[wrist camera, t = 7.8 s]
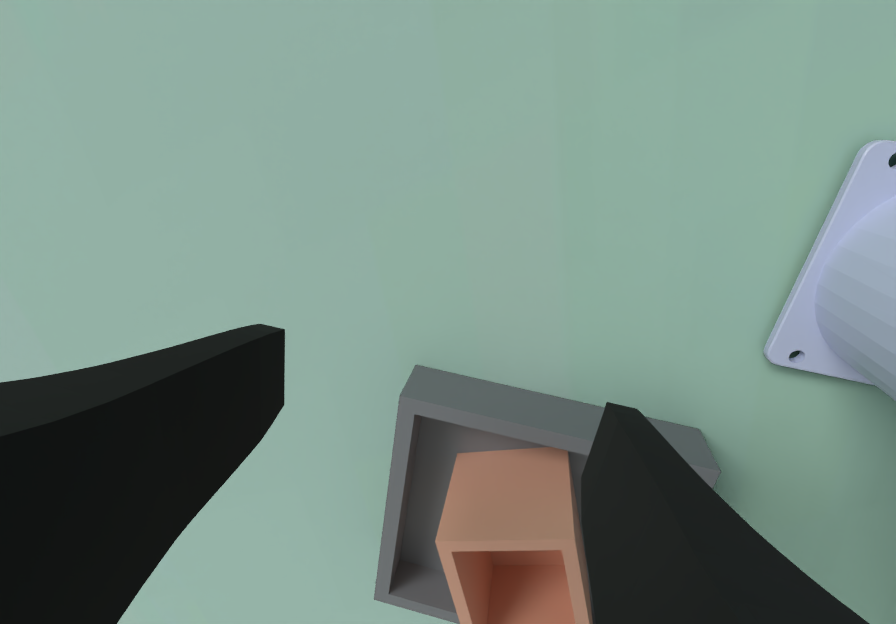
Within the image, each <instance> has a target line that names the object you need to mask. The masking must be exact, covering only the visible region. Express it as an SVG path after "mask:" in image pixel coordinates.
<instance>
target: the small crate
mask: <svg viewBox="0 0 896 624" xmlns="http://www.w3.org/2000/svg"><path fill="white" fill-rule="evenodd" d="M435 543H436V546H437V549H438V553H439V556H440V559H441V563H442V566H443V569H444V572H445V576H446V579H447V582H448V586H449V589H450V592H451V595H452V599H453V602H454V605H455V608H456V612H457V615H458V618H459V622H460V624H593V621H592V612H591V602H590V592H589V583H588V573H587V564H586V557H585V551H584V545H583V539H582V533H581V527H580V521H579V515H578V509H577V503H576V497H575V491H574V485H573V479H572V473H571V467H570V461H569V455H568V451H567V450H562V449H558V448H554V447H543V448H528V449H513V450H498V451H484V452H469V453H457V457H456V461H455V465H454V468H453V472H452V476H451V480H450V484H449V488H448V492H447V496H446V500H445V504H444V508H443V512H442V516H441V520H440V524H439V528H438V532H437V536H436V540H435Z"/></svg>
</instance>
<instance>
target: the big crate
mask: <svg viewBox="0 0 896 624" xmlns="http://www.w3.org/2000/svg"><path fill="white" fill-rule="evenodd" d="M604 409H605V408H603V407H599V406H595V405H590V404H586V403H581V402H577V401H573V400H568V399H564V398H559V397H555V396H551V395H546V394H542V393H537V392H533V391H529V390H524V389H520V388H515V387H511V386H507V385H502V384H498V383H493V382H489V381H484V380H480V379H476V378H471V377H467V376H462V375H458V374H454V373H449V372H445V371H440V370H436V369H432V368H427V367H423V366H418V365H415V367H414V369H413V371H412V373H411V375H410V377H409V379H408V381H407V383H406V385H405V386H404V388H403V390H402V392H401V394H400V397H399V405H398V413H397V421H396V429H395V437H394V445H393V452H392V460H391V468H390V476H389V484H388V492H387V500H386V508H385V516H384V523H383V531H382V539H381V547H380V555H379V563H378V571H377V579H376V587H375V594H374V600H377V601H381V602H384V603H388V604H391V605H395V606H398V607H402V608H405V609H409V610H412V611H416V612H419V613H423V614H426V615H430V616H433V617H437V618H440V619H443V620H447V621H450V622H454V623H457V624H460V622H459V618H458V615H457V612H456V608H455V605H454V602H453V599H452V595H451V592H450V589H449V586H448V582H447V579H446V576H445V572H444V569H443V566H442V563H441V559H440V556H439V553H438V549H437V546H436V543H435V540H436V536H437V532H438V528H439V524H440V520H441V516H442V512H443V508H444V504H445V500H446V496H447V492H448V488H449V484H450V480H451V476H452V472H453V468H454V465H455V461H456V457H457V453H469V452H484V451H498V450H513V449H528V448H543V447H554V448H558V449H562V450H567V451H568V455H569V461H570V467H571V473H572V479H573V485H574V491H575V497H576V503H577V509H578V515H579V521H580V527H581V533H582V539H583V545H584V537H583V530H582V522H581V476H582V473H583V470H584V467H585V464H586V461H587V459H588V456H589V453H590V450H591V447H592V444H593V441H594V438H595V435H596V432H597V429H598V427H599V424H600V421H601V418H602V415H603V412H604ZM646 418H647V417H646ZM647 419H648V421H649V422H650V423H651V424H652V425H653V426H654V427H655V428H656V429H657V430H658V431H659V432H660V434H661V435H662V436H663V437H664V438H665V439H666V440H667V441H668V442H669V443H670V445H671V446H672V447H673V448H674V449H675V450H676V451H677V452H678V453H679V454H680V456H681V457H682V458H683V459H684V460H685V461H686V462H687V463H688V464H689V465H690V466H691V467H692V468H693V470H694V471H695V472H696V473H697V474H698V475H699V476H700V477H701V478H702V479H703V480H704V481H705V482H706V483H707V484H708V485H709V486H710V487H711V488H712V489H713V487H714V485H715V483H716V481H717V479H718V477H719V475H720V473H721V470H720V469H719V467H718V465H717V463H716V461H715V459H714V457H713V455H712V453H711V451H710V449H709V447H708V445H707V443H706V441H705V440H704V438H703V436H702V434H701V432H700V430H699V429H696V428H691V427H687V426H683V425H678V424H674V423H669V422H665V421H661V420H656V419H652V418H647ZM584 551H585V545H584ZM585 557H586V552H585ZM586 564H587V559H586ZM587 573H588V566H587ZM588 583H589V592H590V602H591V612H592V621H593V624H596V622H595V615H594V608H593V601H592V594H591V587H590V580H589V573H588Z"/></svg>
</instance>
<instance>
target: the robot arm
mask: <svg viewBox="0 0 896 624" xmlns="http://www.w3.org/2000/svg"><path fill="white" fill-rule="evenodd" d="M894 153H896V141H890V140H874V141H872V142H869V143H867V144H866V145H864V146H863V147H862V148H861V149H860V150H859V152H858V153H857V155H856V157H855V159H854V161H853V163H852V165H851V167H850V170H849V172H848V174H847V176H846V178H845V180H844V182H843V184H842V186H841V188H840V190H839V192H838V195H837V197H836V199H835V201H834V203H833V205H832V207H831V209H830V211H829V213H828V215H827V217H826V220H825V222H824V224H823V226H822V228H821V230H820V232H819V234H818V236H817V238H816V240H815V242H814V245H813V247H812V249H811V251H810V253H809V255H808V257H807V259H806V261H805V263H804V265H803V267H802V270H801V272H800V274H799V276H798V278H797V280H796V282H795V284H794V286H793V288H792V290H791V292H790V295H789V297H788V299H787V301H786V303H785V305H784V307H783V309H782V311H781V313H780V315H779V318H778V320H777V322H776V324H775V326H774V328H773V330H772V332H771V334H770V336H769V338H768V340H767V343H766V345H765V347H764V351H763V352H764V355H765V357H766V358H767V359H768V360H769V361H770V362H771V363H773V364H776V365H780V366H784V367H789V368H794V369H799V370H804V371H808V372H813V373H818V374H823V375H828V376H832V377H837V378H842V379H847V380H852V381H856V382H861V383H866V384H871V385H876V386H877V387H878V388H879V389H881V390H882V391H883V392H884V393H886V394H887V395H888V396H890V397H891V398H892V399H893V400H895V401H896V165H894V166H892V167H890V166H889V164H888V162H889V158H890V157H891V156H892V155H893V154H894ZM796 350H800V352H799V354H798V355H797V356H796V357H794V358H789V355H790V354H791V353H792V352H794V351H796ZM284 363H285V329H281V328H276V327H272V326H267V325H263V324H256V325H250V326H245V327H241V328H237V329H233V330H229V331H226V332H222V333H218V334H215V335H211V336H208V337H204V338H201V339H197V340H194V341H190V342H187V343H183V344H180V345H176V346H173V347H169V348H166V349H162V350H158V351H154V352H150V353H146V354H143V355H139V356H135V357H131V358H127V359H123V360H119V361H115V362H111V363H107V364H103V365H98V366H94V367H89V368H84V369H79V370H74V371H69V372H64V373H58V374H53V375H47V376H42V377H36V378H30V379H24V380H16V381H9V382H1V383H0V624H117V622H118V621H119V620H120V618H121V617H122V615H123V614H124V612H125V611H126V609H127V608H128V606H129V605H130V603H131V602H132V600H133V599H134V598H135V596H136V595H137V593H138V592H139V590H140V589H141V587H142V586H143V584H144V583H145V582H146V580H147V579H148V578H149V576H150V575H151V573H152V572H153V571H154V569H155V568H156V566H157V565H158V564H159V562H160V561H161V559H162V558H163V557H164V555H165V554H166V552H167V551H168V550H169V548H170V547H171V546H172V544H173V543H174V541H175V540H176V539H177V538H178V536H179V535H180V534H181V533H182V531H183V530H184V529H185V528H186V527H187V525H188V524H189V523H190V522H191V520H192V519H193V518H194V517H195V516H196V515H197V514H198V512H199V511H200V510H201V509H202V508H203V507H204V506H205V504H206V503H207V502H208V501H209V500H210V499H211V498H212V496H213V495H214V494H215V493H216V492H217V491H218V490H219V488H220V487H221V486H222V485H223V484H224V483H225V482H226V480H227V479H228V478H229V477H230V476H231V475H232V474H233V472H234V471H235V470H236V469H237V468H238V467H239V466H240V464H241V463H242V462H243V461H244V460H245V459H246V457H247V456H248V455H249V454H250V453H251V452H252V450H253V449H254V448H255V447H256V446H257V444H258V443H259V442H260V441H261V440H262V438H263V437H264V435H265V434H266V432H267V431H268V429H269V428H270V426H271V425H272V423H273V422H274V420H275V419H276V417H277V415H278V414H279V412H280V411H281V409H282V407H283V406H284ZM581 522H582V530H583V537H584V545H585V552H586V559H587V566H588V573H589V580H590V587H591V594H592V601H593V608H594V615H595V622H596V624H869V623H868V622H867V621H865V620H864V619H863V618H861V617H860V616H859V615H857V614H856V613H855V612H853V611H852V610H851V609H849V608H848V607H847V606H845V605H844V604H843V603H841V602H840V601H839V600H837V599H836V598H835V597H834V596H832V595H831V594H830V593H829V592H827V591H826V590H825V589H824V588H822V587H821V586H820V585H819V584H817V583H816V582H815V581H813V580H812V579H811V578H810V577H809V576H807V575H806V574H805V573H804V572H803V571H801V570H800V569H799V568H798V567H797V566H796V565H794V564H793V563H792V562H791V561H790V560H789V559H787V558H786V557H785V556H784V555H783V554H781V553H780V552H779V551H778V550H777V549H776V548H774V547H773V546H772V545H771V544H770V543H769V542H767V541H766V540H765V539H764V538H763V537H762V536H761V535H760V534H759V533H757V532H756V531H755V530H754V529H753V528H752V527H751V526H750V525H749V524H748V523H747V522H746V521H745V520H743V519H742V518H741V517H740V516H739V515H738V514H737V513H736V512H735V511H734V510H733V509H732V508H731V507H730V506H729V505H728V504H727V503H726V502H725V501H724V500H723V499H722V498H721V497H720V496H719V495H718V494H717V493H716V492H715V491H714V490H713V489H712V488H711V487H710V486H709V485H708V484H707V483H706V482H705V481H704V480H703V479H702V478H701V477H700V476H699V475H698V474H697V473H696V472H695V471H694V470H693V468H692V467H691V466H690V465H689V464H688V463H687V462H686V461H685V460H684V459H683V458H682V457H681V456H680V454H679V453H678V452H677V451H676V450H675V449H674V448H673V447H672V446H671V445H670V443H669V442H668V441H667V440H666V439H665V438H664V437H663V436H662V435H661V434H660V432H659V431H658V430H657V429H656V428H655V427H654V426H653V425H652V424H651V423H650V422H649V421H648V419H647V418H646V417H645V416H644V415H643V414H642V413H641V412H640V411H638V410H637V409H635V408H631V407H626V406H622V405H617V404H613V403H609V402H607V403H606V406H605V409H604V412H603V415H602V418H601V421H600V424H599V427H598V429H597V432H596V435H595V438H594V441H593V444H592V447H591V450H590V453H589V456H588V459H587V461H586V464H585V467H584V470H583V473H582V476H581Z"/></svg>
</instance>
